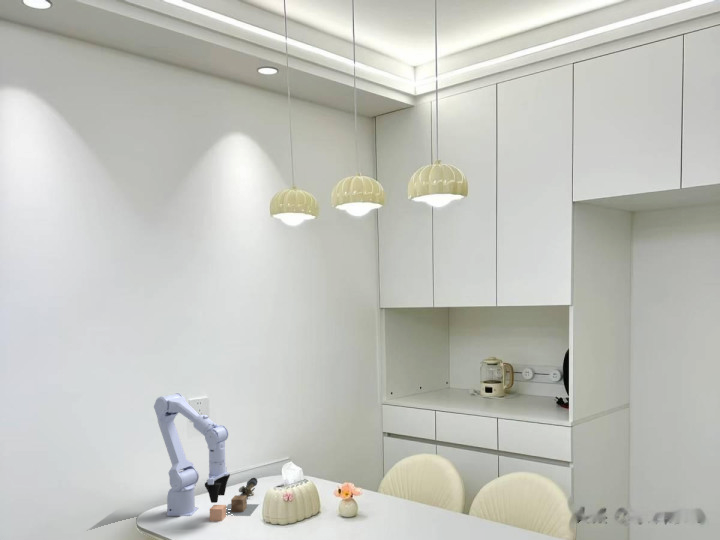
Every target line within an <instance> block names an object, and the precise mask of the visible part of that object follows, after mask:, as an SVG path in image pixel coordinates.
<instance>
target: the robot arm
mask: <svg viewBox="0 0 720 540" xmlns="http://www.w3.org/2000/svg"><path fill="white" fill-rule="evenodd" d="M153 408H154V409H153V410H154V411H155V415H156V418H157V423H158V427H159V429H160V432H161V436H162V439H163V441H164V445H165V448H166V450H167V454H168V457H169V460H170V463H171V468H170V469H169V470H168V476H169V485H170V487H171V488H169V490H168V491H167V496H166V500H167V501H166V504H167V505H166V507H167V509H166V510H167V512H166V513H167V514H166V517H167V516H169V517H192V516H193V515H194V514H195V513H196V512H197V511H198V510H199V509H200V508H199V507H198V506H197V507H196V506H195V503H196V502H195V500H196V499H195V497H196V496H195V493H196V492H195V487H196V485H197V483H199V479H200V474H199V472H198V470H197V469H196V468H195V465H194V463H193V462H191V461H190V460H188V459H187V457H186V454H185V451H184V448H183V445H182V442H181V439H180V435H179V433H178V430H177V427H176V424H175V419H176V417H177V416H178V415H179V414H180V415H182V416H183V417H184V418H187V419H188V420H189V421H190V422H192V423H193V428H194V429H195V430H197V431H198V432H199V433H200V434H202V436H204V440H205V442H206V444H207V449H208V463H209V464H208V470H209V471H208V472H209V473H208V478H207V481H206V482H204V487H205V489H206V490H207V492H208V496H209V499H210V502H211V503H214V504H215V503H218V500H219V496H225V494H226V490H227V484H228V481H229V479H230V477H231V474H230V472H229V471H228V470H227V467H226V441H227V439H228V437H229V432H228V429H227V427H226V426H225V425H222V424H217V422H214V421H213V420H212V419H210V418H209V415H207V414H199V413H198V411H196V410H195V409H194V407H192V406H191V405H190V404H189V403H188V402H187V399H186V397H185V396H183V394H181V393H174V394H169V395H164V396H159V397H157V398H156V400H155V401H154V404H153Z"/></svg>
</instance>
